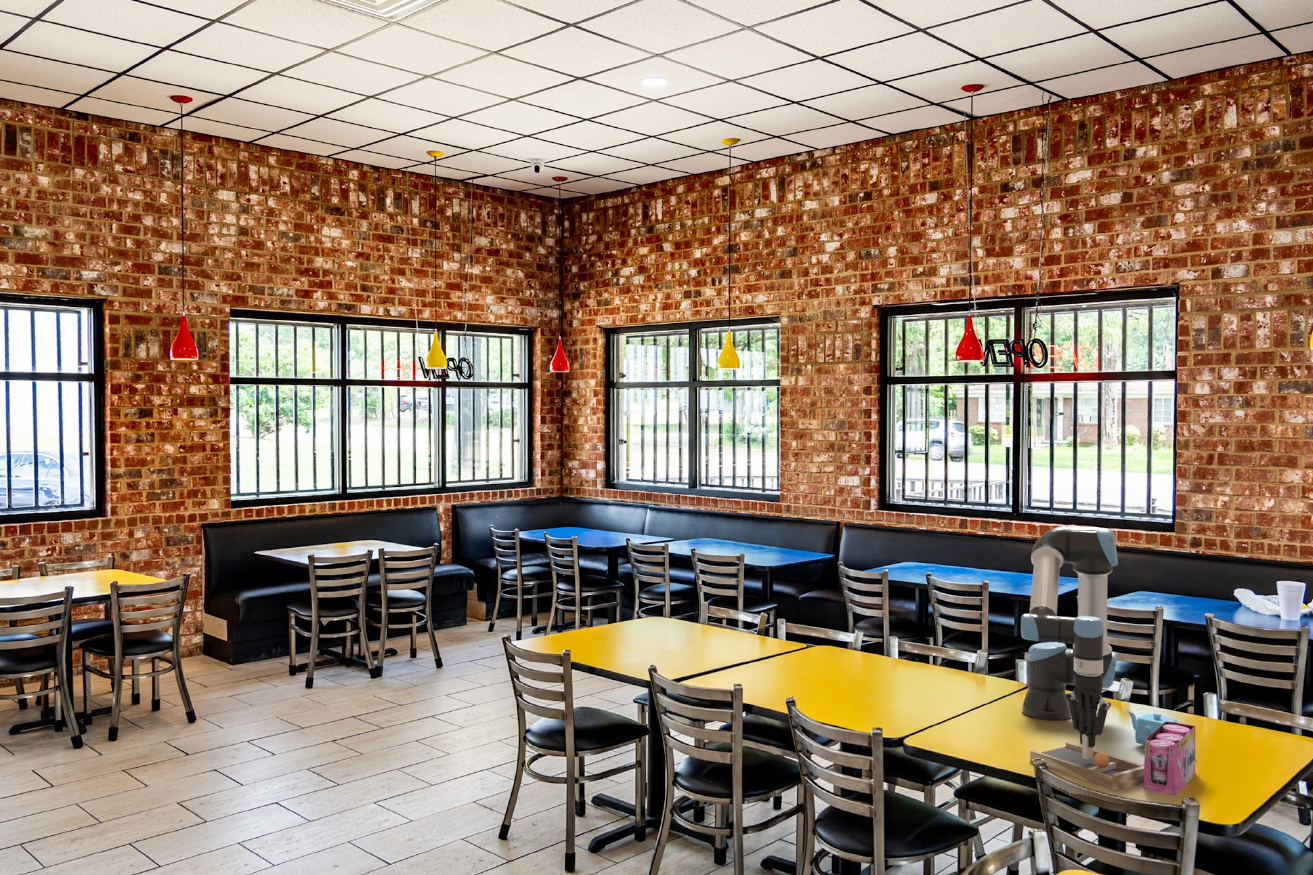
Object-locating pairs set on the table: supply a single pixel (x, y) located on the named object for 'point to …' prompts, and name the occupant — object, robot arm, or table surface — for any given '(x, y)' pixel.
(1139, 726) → the teapot
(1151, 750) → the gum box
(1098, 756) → the ball
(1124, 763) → the lane rails
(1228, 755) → the table surface
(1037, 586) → the robot arm
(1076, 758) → the mat
